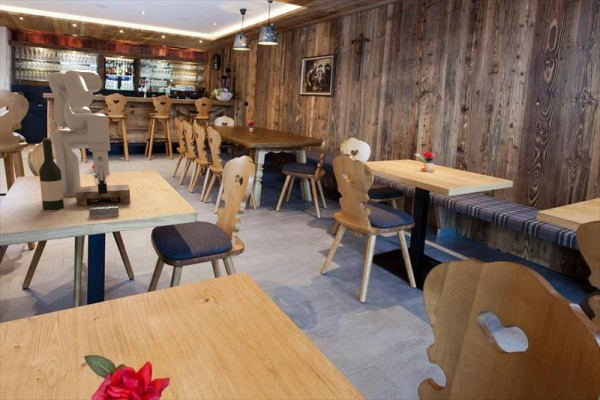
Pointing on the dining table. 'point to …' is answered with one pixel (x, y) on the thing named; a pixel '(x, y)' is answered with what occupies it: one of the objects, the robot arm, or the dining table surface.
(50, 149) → the wine bottle
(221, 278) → the dining table surface
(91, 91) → the robot arm
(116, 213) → the tray
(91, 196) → the shelf
